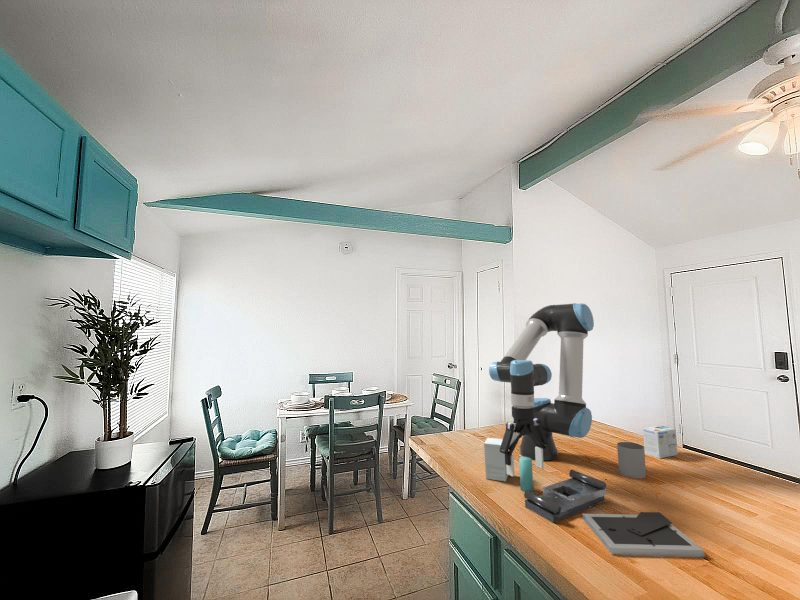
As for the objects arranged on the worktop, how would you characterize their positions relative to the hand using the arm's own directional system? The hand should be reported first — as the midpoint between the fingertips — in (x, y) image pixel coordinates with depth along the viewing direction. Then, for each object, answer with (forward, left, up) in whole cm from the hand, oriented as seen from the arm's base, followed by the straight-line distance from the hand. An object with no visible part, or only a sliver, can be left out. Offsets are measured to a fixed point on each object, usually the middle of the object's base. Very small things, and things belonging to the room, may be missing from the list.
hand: (525, 471), depth 118 cm
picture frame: (+33, +4, -7) cm, 34 cm away
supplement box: (-13, -1, -6) cm, 15 cm away
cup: (+10, +43, -6) cm, 45 cm away
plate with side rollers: (+13, +3, -6) cm, 15 cm away
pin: (0, 0, -6) cm, 6 cm away
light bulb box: (+5, +73, -6) cm, 74 cm away
